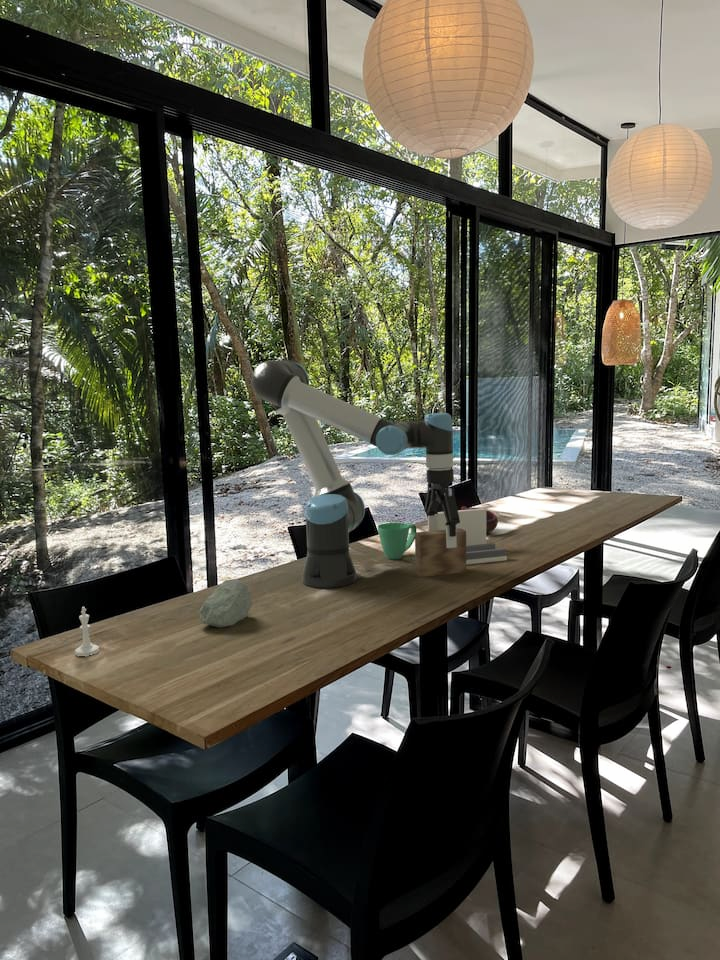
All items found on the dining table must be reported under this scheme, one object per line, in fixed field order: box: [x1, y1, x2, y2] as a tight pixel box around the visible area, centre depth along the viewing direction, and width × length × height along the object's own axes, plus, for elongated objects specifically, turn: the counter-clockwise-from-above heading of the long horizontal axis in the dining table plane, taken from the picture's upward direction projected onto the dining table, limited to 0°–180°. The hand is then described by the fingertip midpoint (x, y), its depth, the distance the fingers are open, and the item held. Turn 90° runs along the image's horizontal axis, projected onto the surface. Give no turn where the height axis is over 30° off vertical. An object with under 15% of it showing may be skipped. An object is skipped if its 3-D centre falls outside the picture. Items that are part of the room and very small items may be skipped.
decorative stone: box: [198, 578, 253, 629], centre depth 168 cm, size 13×11×10 cm
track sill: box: [436, 508, 508, 566], centre depth 220 cm, size 17×16×13 cm
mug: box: [377, 522, 417, 560], centre depth 223 cm, size 15×10×10 cm
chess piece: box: [74, 606, 100, 657], centre depth 151 cm, size 5×5×10 cm
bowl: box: [460, 506, 499, 534], centre depth 253 cm, size 16×13×8 cm
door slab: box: [414, 528, 467, 578], centre depth 204 cm, size 14×4×12 cm, turn 106°
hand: (442, 542), depth 203 cm, fingers open, 13 cm apart
